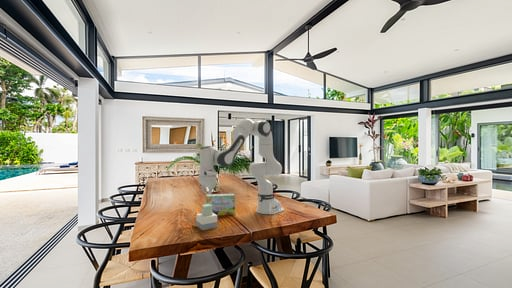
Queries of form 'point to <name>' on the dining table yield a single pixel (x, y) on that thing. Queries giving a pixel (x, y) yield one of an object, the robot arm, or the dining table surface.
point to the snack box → (222, 203)
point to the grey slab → (206, 225)
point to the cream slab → (206, 218)
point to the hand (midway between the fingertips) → (206, 192)
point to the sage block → (206, 209)
